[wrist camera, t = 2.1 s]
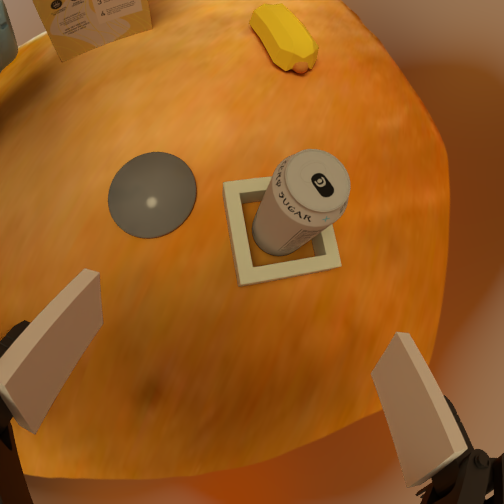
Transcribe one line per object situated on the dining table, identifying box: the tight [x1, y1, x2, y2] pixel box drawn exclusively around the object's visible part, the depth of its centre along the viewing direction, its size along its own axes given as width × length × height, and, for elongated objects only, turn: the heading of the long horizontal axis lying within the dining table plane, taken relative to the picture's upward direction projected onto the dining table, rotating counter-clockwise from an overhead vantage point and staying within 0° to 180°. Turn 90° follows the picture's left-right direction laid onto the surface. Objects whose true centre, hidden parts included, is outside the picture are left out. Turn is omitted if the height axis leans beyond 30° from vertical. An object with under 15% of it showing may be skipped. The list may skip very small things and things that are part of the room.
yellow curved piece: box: [249, 3, 319, 74], centre depth 37 cm, size 18×7×8 cm
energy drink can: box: [252, 149, 350, 256], centre depth 26 cm, size 6×6×15 cm
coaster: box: [108, 152, 196, 239], centre depth 33 cm, size 11×11×1 cm
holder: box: [223, 176, 341, 287], centre depth 32 cm, size 11×11×4 cm
